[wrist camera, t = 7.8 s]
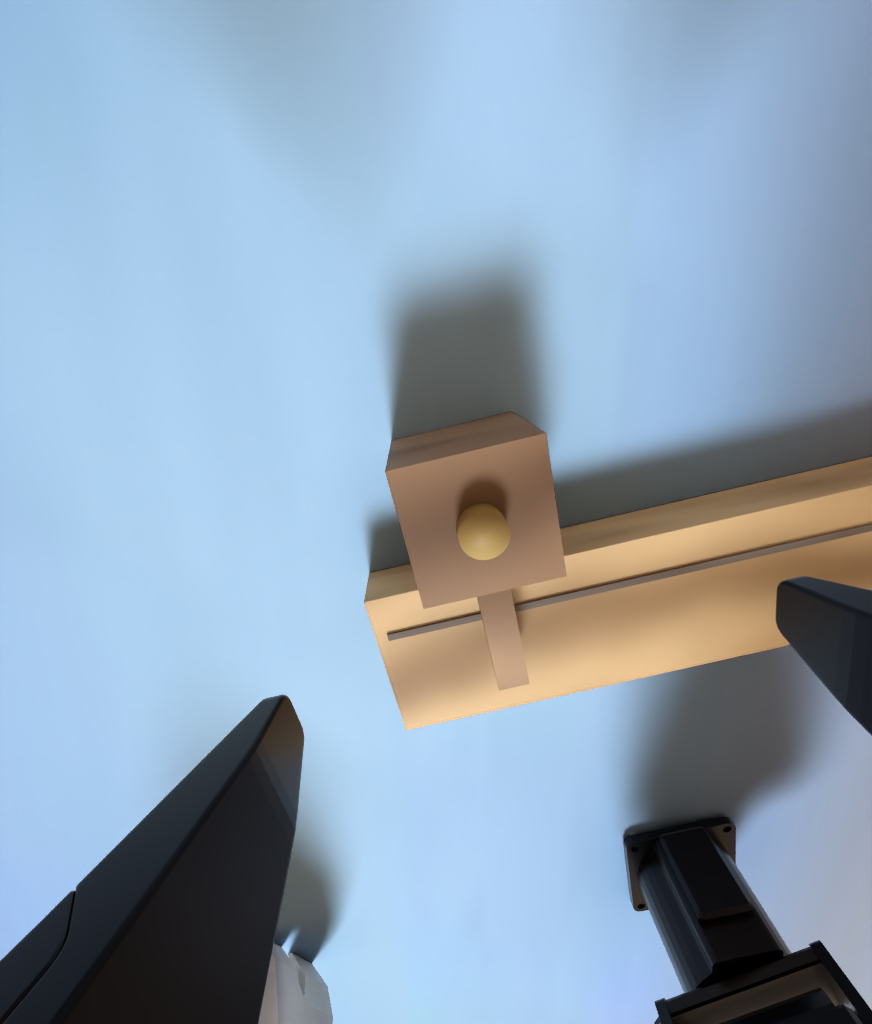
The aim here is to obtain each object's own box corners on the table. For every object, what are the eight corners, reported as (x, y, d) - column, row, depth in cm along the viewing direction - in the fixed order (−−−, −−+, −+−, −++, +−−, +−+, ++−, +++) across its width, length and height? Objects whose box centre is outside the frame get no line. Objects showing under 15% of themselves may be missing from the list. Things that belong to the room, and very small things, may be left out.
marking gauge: (544, 607, 22) (590, 695, 16) (442, 631, 22) (453, 726, 16) (511, 411, 18) (553, 437, 13) (391, 439, 18) (383, 478, 13)
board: (885, 583, 22) (944, 612, 20) (406, 690, 23) (406, 732, 20) (903, 448, 20) (973, 463, 17) (369, 573, 20) (363, 603, 18)
